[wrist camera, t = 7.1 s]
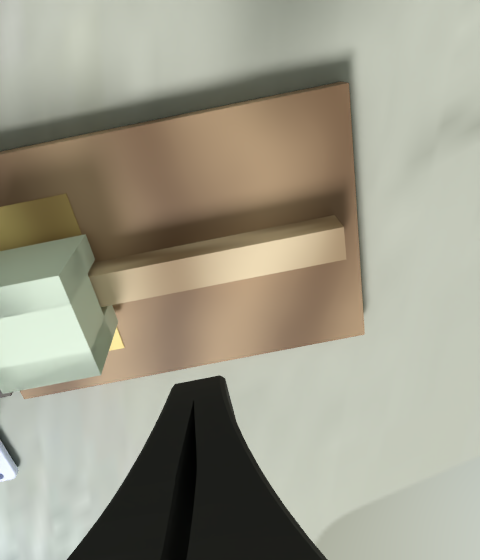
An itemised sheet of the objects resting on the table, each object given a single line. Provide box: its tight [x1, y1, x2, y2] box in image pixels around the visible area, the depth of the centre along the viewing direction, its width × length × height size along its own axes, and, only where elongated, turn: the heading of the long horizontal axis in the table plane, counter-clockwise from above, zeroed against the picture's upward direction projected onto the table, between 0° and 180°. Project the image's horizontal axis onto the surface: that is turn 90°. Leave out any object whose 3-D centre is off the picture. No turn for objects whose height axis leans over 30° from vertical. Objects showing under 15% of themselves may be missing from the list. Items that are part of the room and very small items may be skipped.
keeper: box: [0, 234, 118, 394], centre depth 18 cm, size 4×4×4 cm
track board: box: [0, 82, 365, 399], centre depth 19 cm, size 18×12×4 cm, turn 100°
